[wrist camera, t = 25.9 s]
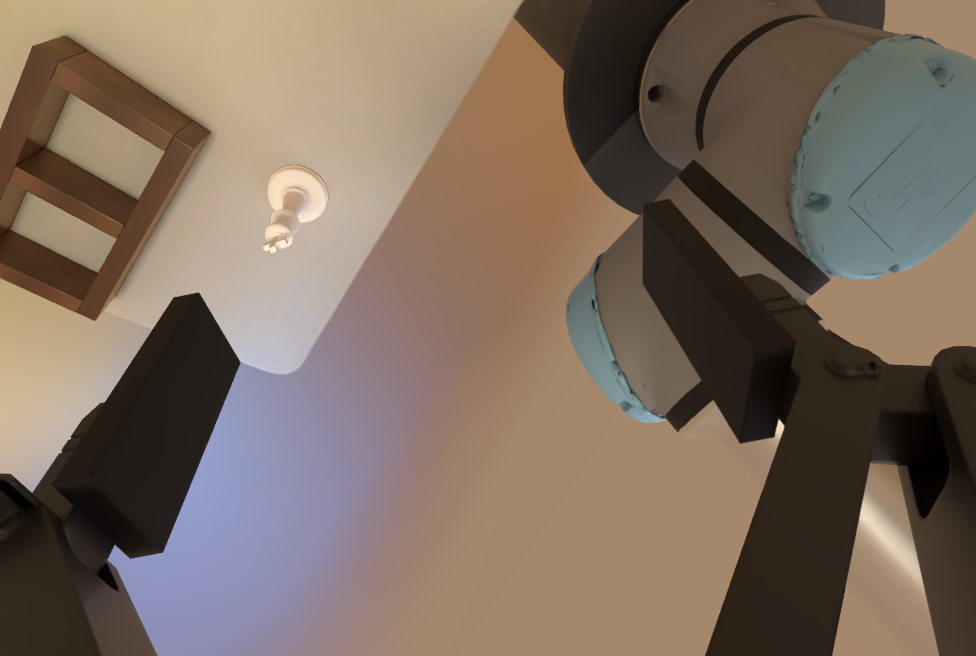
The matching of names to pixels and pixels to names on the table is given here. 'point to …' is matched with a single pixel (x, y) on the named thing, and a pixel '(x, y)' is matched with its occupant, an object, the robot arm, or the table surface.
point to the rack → (84, 173)
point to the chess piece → (293, 203)
